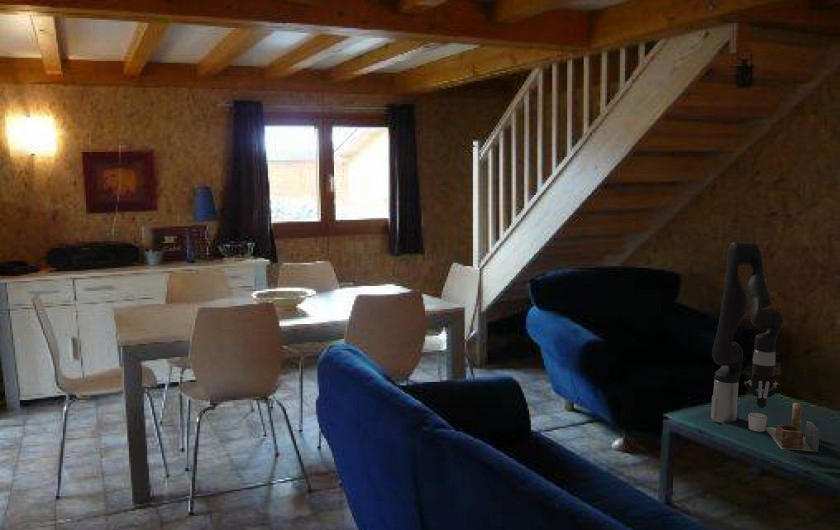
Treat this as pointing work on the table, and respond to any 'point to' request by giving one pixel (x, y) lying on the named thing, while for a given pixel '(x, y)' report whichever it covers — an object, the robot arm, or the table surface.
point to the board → (804, 447)
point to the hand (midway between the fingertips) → (761, 407)
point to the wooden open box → (789, 436)
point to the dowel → (796, 414)
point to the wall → (812, 436)
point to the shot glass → (757, 421)
